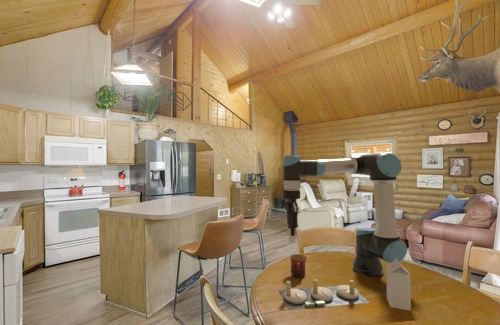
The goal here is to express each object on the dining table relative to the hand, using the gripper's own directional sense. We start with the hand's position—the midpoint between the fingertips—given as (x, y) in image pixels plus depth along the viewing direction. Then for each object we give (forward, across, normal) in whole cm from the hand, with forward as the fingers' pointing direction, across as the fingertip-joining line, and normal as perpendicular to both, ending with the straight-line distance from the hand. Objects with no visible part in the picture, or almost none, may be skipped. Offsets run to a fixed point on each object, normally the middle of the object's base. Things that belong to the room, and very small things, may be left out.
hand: (292, 242), depth 108 cm
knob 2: (+22, +3, +24) cm, 33 cm away
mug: (+24, -15, +7) cm, 29 cm away
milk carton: (+24, +12, +41) cm, 49 cm away
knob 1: (+22, +5, 0) cm, 23 cm away
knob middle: (+22, +4, +12) cm, 26 cm away
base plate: (+24, +4, +12) cm, 27 cm away
